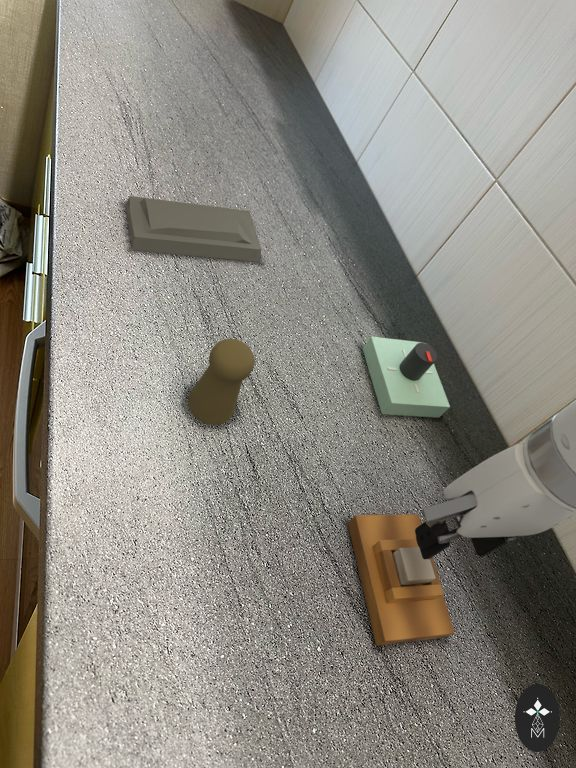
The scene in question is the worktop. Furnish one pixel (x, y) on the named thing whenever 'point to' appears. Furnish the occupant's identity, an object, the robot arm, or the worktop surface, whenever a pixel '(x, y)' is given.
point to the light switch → (396, 582)
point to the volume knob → (418, 361)
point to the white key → (412, 566)
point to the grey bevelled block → (191, 229)
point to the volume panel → (402, 381)
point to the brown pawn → (221, 382)
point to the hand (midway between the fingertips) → (449, 542)
